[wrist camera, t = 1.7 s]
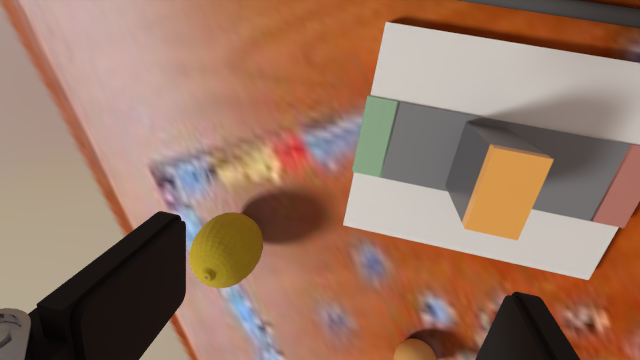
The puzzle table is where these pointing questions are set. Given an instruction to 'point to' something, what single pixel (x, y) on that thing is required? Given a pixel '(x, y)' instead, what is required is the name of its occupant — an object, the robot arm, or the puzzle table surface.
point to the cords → (573, 10)
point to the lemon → (226, 250)
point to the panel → (507, 113)
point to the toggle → (495, 180)
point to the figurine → (414, 350)
